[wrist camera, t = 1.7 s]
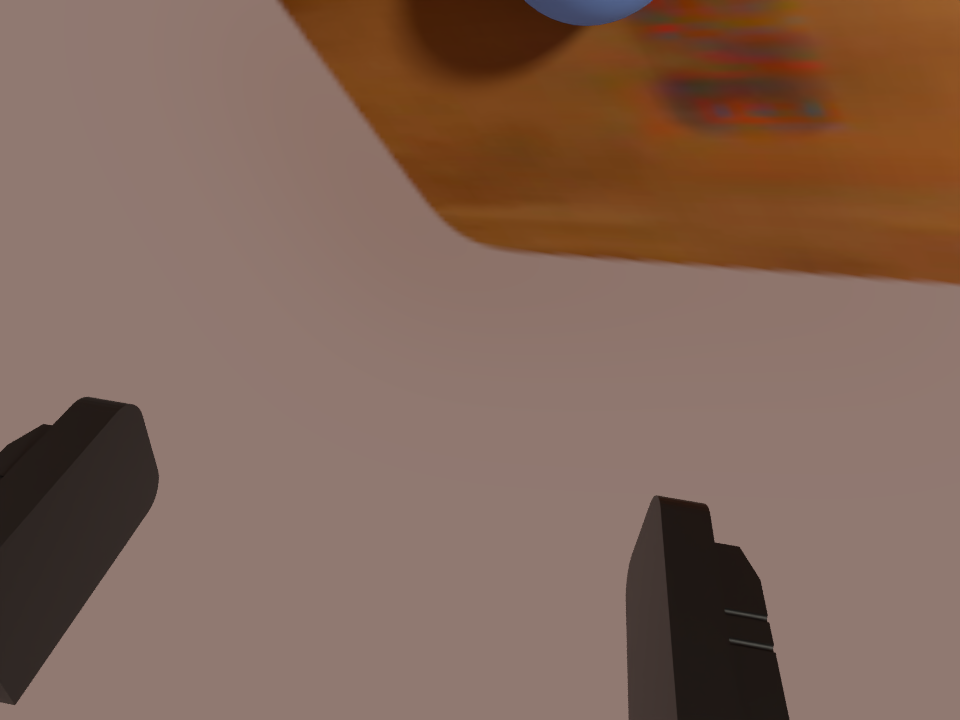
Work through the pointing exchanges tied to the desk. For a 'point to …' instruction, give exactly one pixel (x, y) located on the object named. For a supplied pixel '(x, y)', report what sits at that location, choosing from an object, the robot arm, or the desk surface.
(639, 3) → the ball
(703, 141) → the desk surface
